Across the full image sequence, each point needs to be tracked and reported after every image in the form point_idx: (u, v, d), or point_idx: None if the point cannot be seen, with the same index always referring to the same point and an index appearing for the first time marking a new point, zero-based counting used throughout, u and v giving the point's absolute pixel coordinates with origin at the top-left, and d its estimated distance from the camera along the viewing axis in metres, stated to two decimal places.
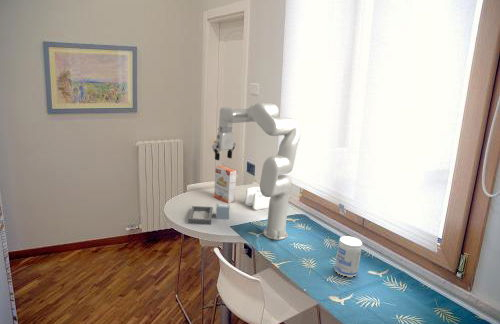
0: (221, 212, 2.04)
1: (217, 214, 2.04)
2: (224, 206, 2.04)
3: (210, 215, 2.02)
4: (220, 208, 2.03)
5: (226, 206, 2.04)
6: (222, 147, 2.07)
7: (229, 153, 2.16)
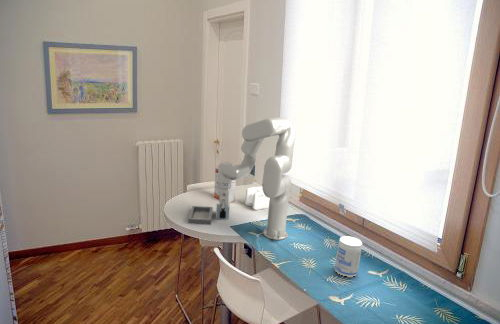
0: None
1: (217, 213, 2.04)
2: None
3: (210, 215, 2.02)
4: (220, 208, 2.03)
5: (226, 206, 2.04)
6: None
7: None
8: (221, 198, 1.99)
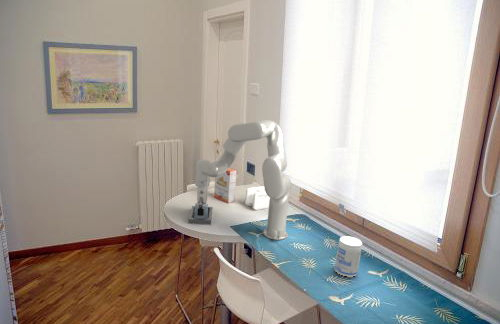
0: None
1: (195, 213, 2.02)
2: (202, 205, 2.03)
3: (210, 215, 2.02)
4: None
5: (204, 205, 2.03)
6: (206, 201, 1.99)
7: None
8: (199, 196, 1.97)
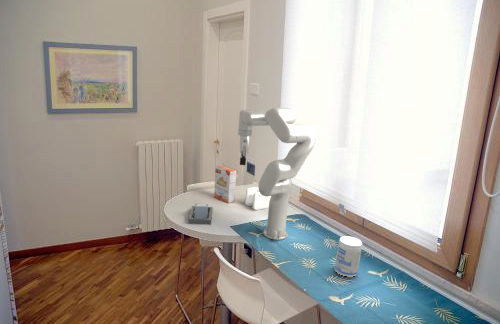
0: (199, 212, 2.02)
1: (195, 213, 2.02)
2: (202, 205, 2.03)
3: (210, 215, 2.02)
4: (198, 208, 2.01)
5: (204, 205, 2.03)
6: (248, 151, 2.03)
7: None
8: (242, 145, 2.01)
